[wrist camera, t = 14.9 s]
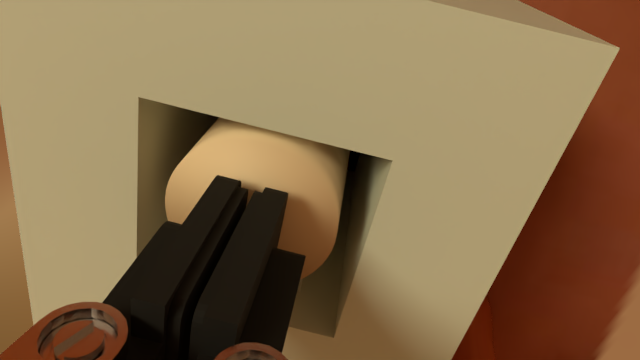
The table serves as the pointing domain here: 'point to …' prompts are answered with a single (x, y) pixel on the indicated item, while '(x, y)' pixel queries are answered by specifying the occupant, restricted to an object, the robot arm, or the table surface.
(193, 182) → the peg
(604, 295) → the table surface
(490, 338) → the beer glass
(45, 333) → the robot arm
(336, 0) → the socket
